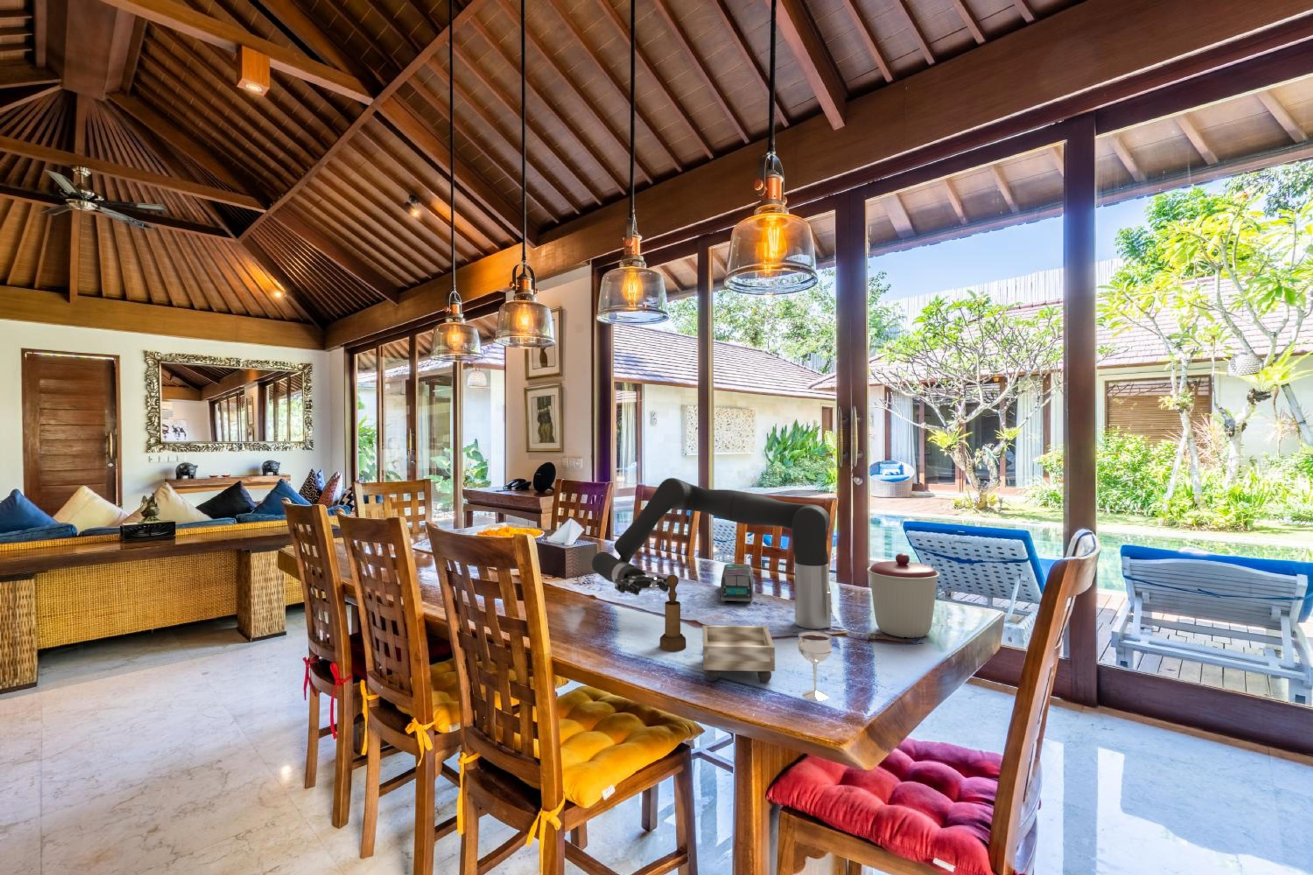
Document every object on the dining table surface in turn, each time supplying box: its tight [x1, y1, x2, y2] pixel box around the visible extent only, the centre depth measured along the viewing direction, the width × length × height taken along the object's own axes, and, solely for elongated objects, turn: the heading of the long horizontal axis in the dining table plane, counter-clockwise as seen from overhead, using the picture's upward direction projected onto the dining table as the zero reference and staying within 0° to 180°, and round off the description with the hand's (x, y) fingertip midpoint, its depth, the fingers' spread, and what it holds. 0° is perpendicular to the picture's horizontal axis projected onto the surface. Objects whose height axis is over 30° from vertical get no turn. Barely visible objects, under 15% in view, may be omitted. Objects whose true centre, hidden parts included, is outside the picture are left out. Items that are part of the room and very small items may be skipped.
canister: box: [866, 552, 941, 639], centre depth 165 cm, size 18×18×21 cm
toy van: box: [719, 563, 754, 604], centre depth 207 cm, size 11×25×10 cm, turn 171°
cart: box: [702, 625, 776, 683], centre depth 138 cm, size 15×15×8 cm
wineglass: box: [797, 630, 833, 701], centre depth 125 cm, size 7×7×12 cm
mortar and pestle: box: [659, 574, 687, 652], centre depth 155 cm, size 7×6×18 cm
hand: (652, 589), depth 165 cm, fingers open, 8 cm apart
